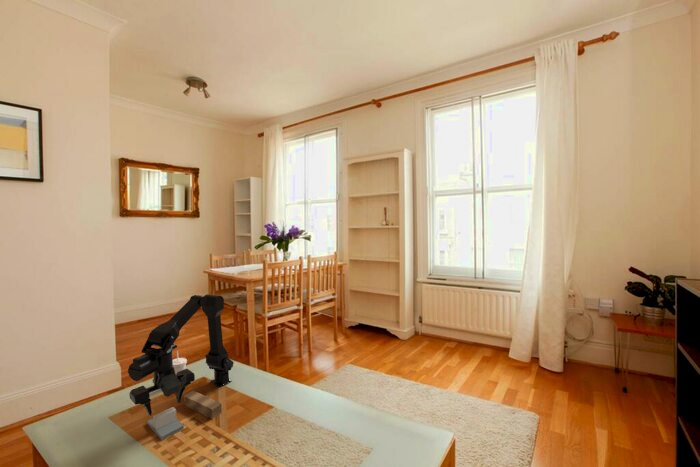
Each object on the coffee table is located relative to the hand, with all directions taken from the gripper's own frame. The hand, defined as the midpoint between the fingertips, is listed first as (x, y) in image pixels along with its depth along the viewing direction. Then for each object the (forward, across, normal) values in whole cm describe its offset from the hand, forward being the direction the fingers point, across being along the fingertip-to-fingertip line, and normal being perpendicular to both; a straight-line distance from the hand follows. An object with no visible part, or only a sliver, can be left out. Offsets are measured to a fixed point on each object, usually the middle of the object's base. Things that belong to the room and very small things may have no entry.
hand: (164, 408), depth 109 cm
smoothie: (+7, +15, +24) cm, 29 cm away
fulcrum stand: (+6, 0, 0) cm, 6 cm away
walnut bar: (+7, +13, 0) cm, 15 cm away
